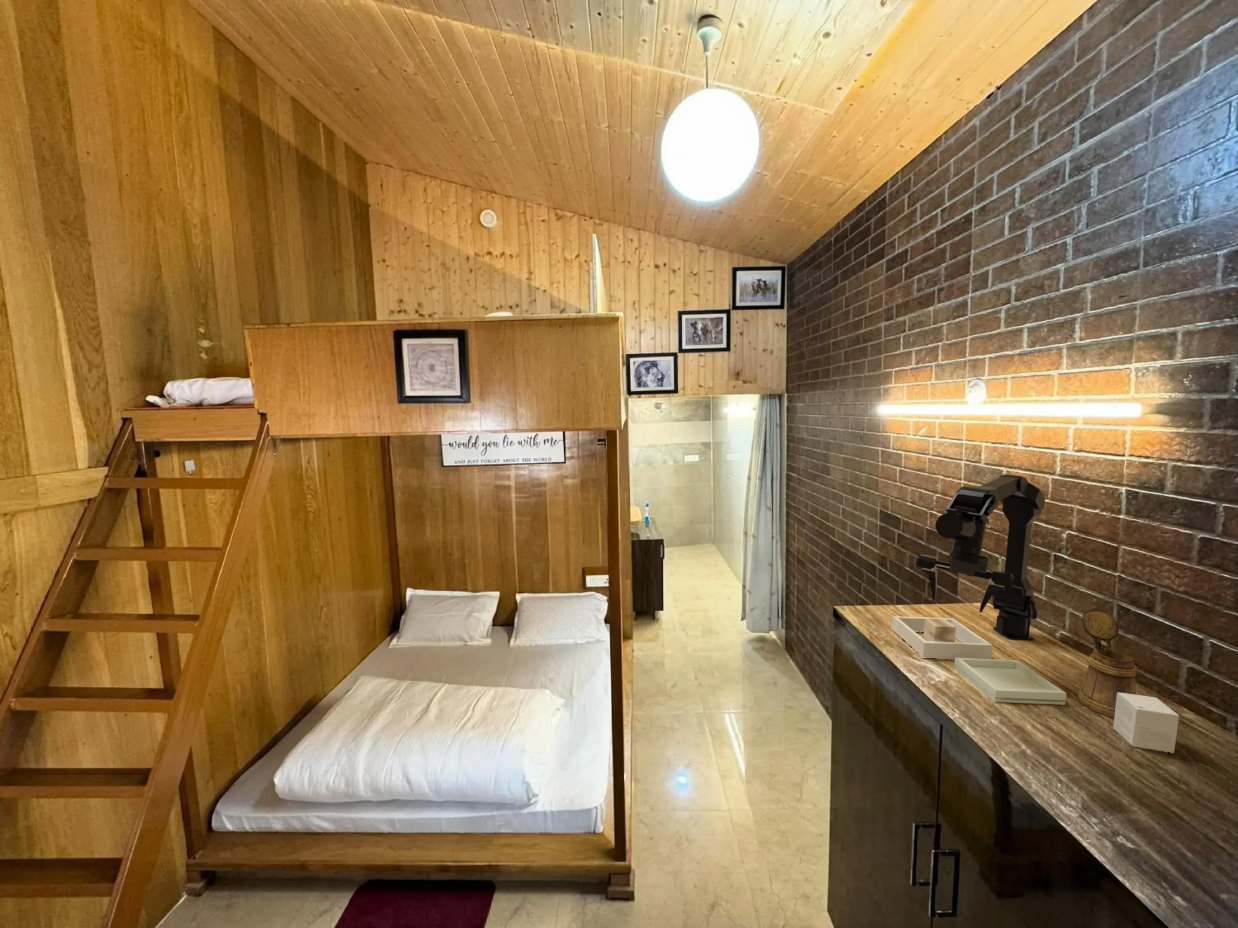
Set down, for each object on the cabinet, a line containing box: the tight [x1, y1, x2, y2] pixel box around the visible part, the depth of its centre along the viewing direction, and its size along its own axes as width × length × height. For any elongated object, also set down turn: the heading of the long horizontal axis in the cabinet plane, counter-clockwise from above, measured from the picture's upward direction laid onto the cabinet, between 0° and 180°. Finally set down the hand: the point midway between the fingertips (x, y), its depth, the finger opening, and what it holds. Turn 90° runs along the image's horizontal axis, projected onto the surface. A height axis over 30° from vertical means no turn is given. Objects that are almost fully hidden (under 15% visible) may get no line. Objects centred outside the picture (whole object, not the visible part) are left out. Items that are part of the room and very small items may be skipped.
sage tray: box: [953, 658, 1067, 706], centre depth 113 cm, size 14×14×2 cm
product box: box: [1112, 693, 1180, 754], centre depth 94 cm, size 6×6×7 cm
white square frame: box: [891, 615, 994, 661], centre depth 132 cm, size 16×16×4 cm
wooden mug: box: [1077, 606, 1137, 718], centre depth 106 cm, size 9×14×18 cm, turn 157°
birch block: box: [922, 618, 956, 642], centre depth 131 cm, size 5×5×6 cm
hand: (956, 605), depth 121 cm, fingers open, 9 cm apart
